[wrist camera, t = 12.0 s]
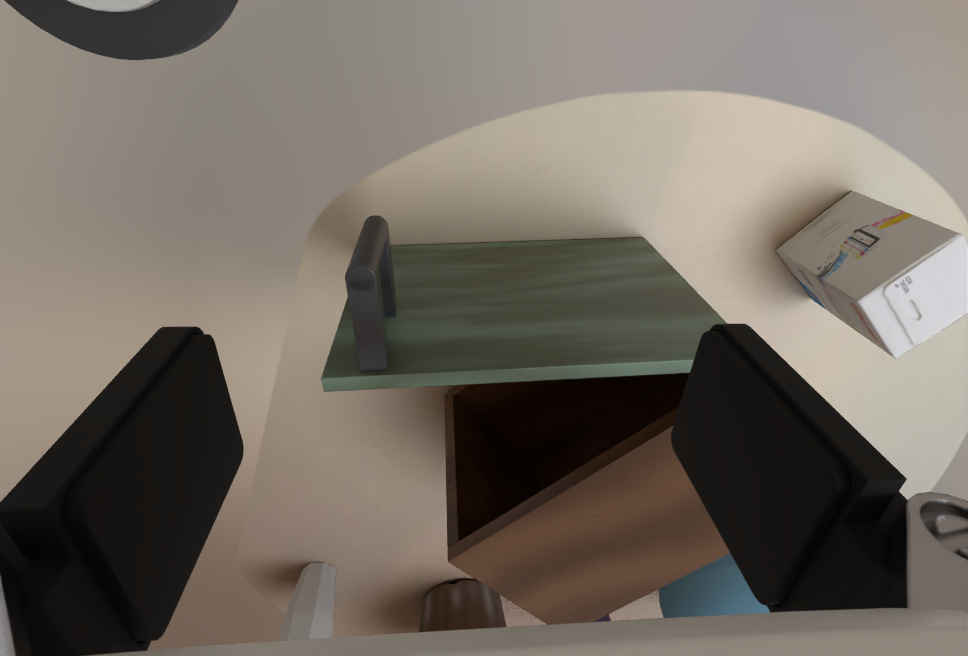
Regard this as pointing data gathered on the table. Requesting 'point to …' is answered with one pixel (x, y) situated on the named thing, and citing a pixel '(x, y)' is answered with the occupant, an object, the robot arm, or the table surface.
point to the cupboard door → (511, 313)
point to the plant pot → (461, 607)
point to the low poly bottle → (311, 605)
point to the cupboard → (572, 493)
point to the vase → (710, 592)
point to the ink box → (882, 271)
